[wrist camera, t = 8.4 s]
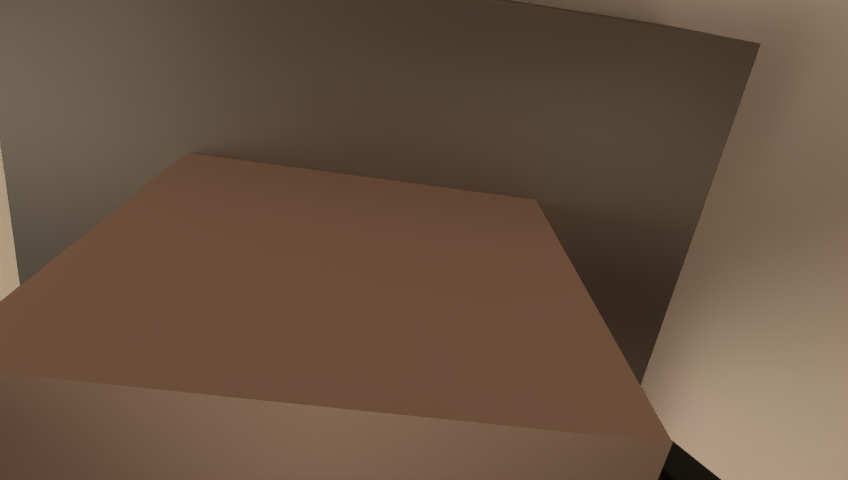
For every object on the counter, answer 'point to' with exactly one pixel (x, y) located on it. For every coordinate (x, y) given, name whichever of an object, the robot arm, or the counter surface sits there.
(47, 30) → the walnut base
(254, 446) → the brown cube
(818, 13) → the counter surface
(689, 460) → the robot arm
